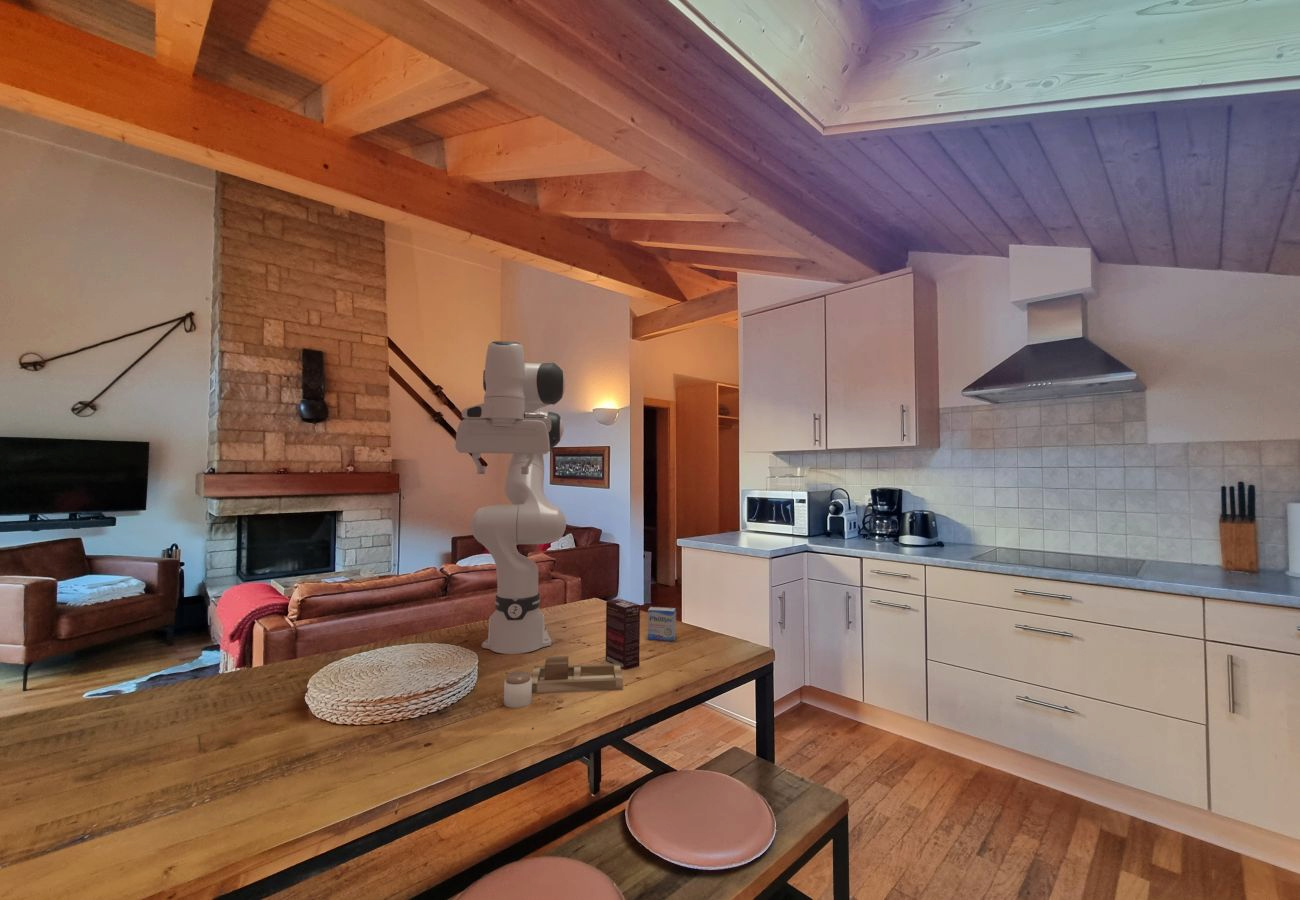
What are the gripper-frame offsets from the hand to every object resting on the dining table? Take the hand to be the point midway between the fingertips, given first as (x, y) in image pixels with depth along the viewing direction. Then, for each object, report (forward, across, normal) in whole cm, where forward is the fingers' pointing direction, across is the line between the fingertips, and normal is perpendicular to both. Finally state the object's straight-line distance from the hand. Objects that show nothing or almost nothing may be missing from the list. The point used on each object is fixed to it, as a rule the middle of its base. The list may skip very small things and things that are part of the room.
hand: (503, 474), depth 117 cm
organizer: (+48, -17, -2) cm, 51 cm away
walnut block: (+47, -12, -2) cm, 49 cm away
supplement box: (+48, -28, -13) cm, 57 cm away
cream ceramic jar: (+48, -5, +7) cm, 49 cm away
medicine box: (+48, -41, -34) cm, 72 cm away
